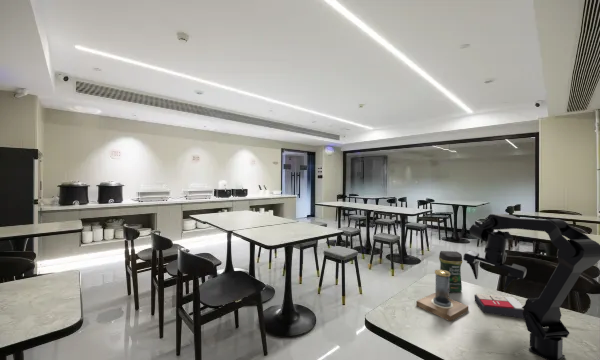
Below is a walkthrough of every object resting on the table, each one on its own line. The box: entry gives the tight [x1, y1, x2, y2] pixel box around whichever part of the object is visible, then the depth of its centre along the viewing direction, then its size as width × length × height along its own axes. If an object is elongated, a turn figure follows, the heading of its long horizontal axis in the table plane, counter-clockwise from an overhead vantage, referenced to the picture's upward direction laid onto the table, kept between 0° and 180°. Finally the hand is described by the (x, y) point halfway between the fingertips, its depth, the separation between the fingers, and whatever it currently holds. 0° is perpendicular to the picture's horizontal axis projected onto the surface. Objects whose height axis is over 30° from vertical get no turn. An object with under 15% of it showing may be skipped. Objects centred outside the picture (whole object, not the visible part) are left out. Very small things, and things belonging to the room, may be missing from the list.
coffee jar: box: [438, 250, 463, 293], centre depth 124 cm, size 10×8×19 cm
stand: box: [415, 292, 469, 322], centre depth 106 cm, size 14×14×2 cm
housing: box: [433, 269, 451, 307], centre depth 106 cm, size 6×6×13 cm
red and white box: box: [474, 293, 524, 319], centre depth 106 cm, size 11×4×15 cm
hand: (490, 284), depth 99 cm, fingers open, 9 cm apart
